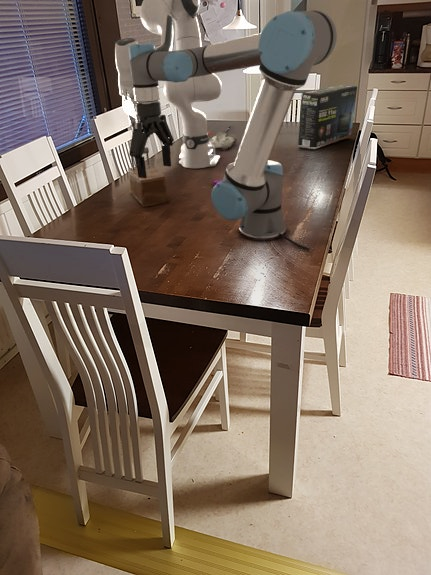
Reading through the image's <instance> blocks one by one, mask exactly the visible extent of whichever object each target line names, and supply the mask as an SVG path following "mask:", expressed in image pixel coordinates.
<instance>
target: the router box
mask: <svg viewBox="0 0 431 575" xmlns="http://www.w3.org/2000/svg"><path fill="white" fill-rule="evenodd" d="M357 93H358V86H356V85H350V84H339V85H338V84H337V85H334V86H328V87H324V88H318V89H314V90H309V91H304V92H301V93H300V109H299V110H300V111H299V124H298V137H297V146H298V145H302V146H307V147H317V146H320V145H323V144H325V143H328V142H331V141H333V140H336V139H338V138H341V137H344V136H347V135H351V136H352V133H353V132H352V131H353V125H354V115H355V109H356V99H357ZM311 151H313V150H312V149H311Z"/></svg>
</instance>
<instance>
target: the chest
mask: <svg viewBox="0 0 431 575" xmlns="http://www.w3.org/2000/svg"><path fill="white" fill-rule="evenodd" d="M128 177H129V178H128V179H129V184H130V192H131V195H132V196H133V197H134V198H135V199H136V201H137V202H138V203H139V204H140V205H141V206H142V207H143V208H147V207H150V206H151V207H153V206H156V205H161V204H167V203H168V193H167V184H166V178H165V179H161V180H155V181H149V182H144V183H140V182H139V181H138V180H137V179H136V178H135V177H134V176H133V175H132V174H131V173H130V172H129V171H128Z"/></svg>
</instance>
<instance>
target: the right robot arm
mask: <svg viewBox="0 0 431 575" xmlns="http://www.w3.org/2000/svg"><path fill="white" fill-rule="evenodd" d="M337 39H338V31H337V27H336V23H335V22H334V21H333V19H332V18H331V17H330V16H329V15H328V14H327V13H326V12H323V11H320V10H315V9H314V10H301V11H298V10H288V11H284V12H282V13H279V14H277V15H275V16H273V17H272V18H271V19H270V20H269V21H267V23H266V24H265V26H264V27H263V29H262V30H261V32H260V33H256V34H252V35H248V36H242V37H239V38H235V39H230V40H226V41H221V42H216V43H211V44H209V45H203V46H202V47H198V48H193V49H185V50H177V51H176V50H173V51H168V52H156V50H155V47H156V46H155V44H154V43H152V42H145V43H138V44H132V45H131V46H130V47H129V57H130V60H129V62H130V66H131V73H132V81H133V87H134V96H135V101H136V102H137V103H136V104H135V106H136V114H137V116H138V117H139V118H140V122H139V123H138V122H136V121H135V122H133V127H132V135H131V141H130V147H129V150H130V153H129V154H128V155H129V157H131V156H132V157H133V158H134V163H135V167H137V171H138V177H139V178H147V176H146V168H145V166H146V161H145V156H143V155H144V154H143V152H144V149H145V148H146V145H147V142H148V139H149V138H150V137H151V135H154V134H155V136H156V137H157V139H159V141H160V143H161V144H162V145H161V155H162V156H161V157H162V166H163V167H172V158H171V146H173V145H174V141H175V140H174V137H173V134H172V131H171V129H170V127H169V124H168V121H167V117H166V114H162V104H161V102H160V100H161V94H160V86H159V84H160V83H159V82H165V81H170V82H176V83H177V82H184V81H187V80H188V78H191V77H197V76H204V75H209V74H218V73H224V72H230V71H235V70H240V69H241V70H243V69H246V68H253V67H258V69H259V71H260V74H261V77H262V78H261V81H260V84H259V87H258V90H257V93H256V96H255V99H254V102H253V105H252V107H251V108H252V109H251V111H250V114H249V117H248V120H247V123H246V126H245V128H244V132H243V134H242V138H241V141H240V144H239V146H238V149H237V153H236V155H235V159H234V161H233V162H231V163H229V164H228V165H226V168H225V172H224V175H223V177H222V182H219V183H217V184H216V185H215V186H214V185H213V188H212V189H211V196H210V198H211V203H212V205H213V206H214V209H215V211H216V212H217V213H218V214H219V216H221V217H222V218H224V219H226V220H227V221H233V222H234V221H239V220H240V222H239V225H238V232H239V235H240V236H241V237H242V238H244V239H247V240H250V241H254V242H271V241H277V240H279V239H281V238H283V239H284V240H286V241H287V242H289V243H291V244H292V245H293V246H296V247H298V248H301V249H303V250H306V251H309V250H310V247H307V246H305V245H302V244H300V243H297V242H296V241H294V240H292V239H291V238H290V237H288V236H286V234H287V223H286V221H285V216H284V214H283V210H282V200H283V183H284V168H283V165H282V164H281V163H280V162H278V161H275V160H270V157H271V155H272V152H273V150H274V147H275V144H276V142H277V139H278V137H279V134H280V132H281V129H282V127H283V125H284V122H285V119H286V116H287V114H288V111H289V109H290V107H291V105H292V104H291V103H292V102H293V99H294V96H295V93H296V91H297V90H298V89H301V88H302V87H304V86H305V85H306V83H307V81H308V79H309V78H308V77H309V76H310V73H311V70H312V68H313V66H317V65H320V64H321V63H323V62H325V61H326V60H328V58H329V57H330V56H331V55H332V53H333V52H334V49H335V47H336V45H337Z"/></svg>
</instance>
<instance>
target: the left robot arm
mask: <svg viewBox="0 0 431 575" xmlns="http://www.w3.org/2000/svg"><path fill="white" fill-rule="evenodd" d="M200 5H201V0H142V3H141V6H140V9H139V18H140V22H141V24H142V26H143V27H144V28H145V30H147V31H148V32H149V33H152V34H155V35H158V36H161V37H160V45H158V46H155V50H156V52H168V51H174V46H175V51H177V50H185V49H193V48H198V47H203V46H202V38H201V37H202V36H201V31H200V26H199V21H198V18H197V16H198V13H199V10H200ZM132 44H139V42H138V41H137V39H136V38H133V37H125V38H121V39H120V38H119V39H118V40H117V41H116V42H115V44H114V46H115V47H114V57H115V58H114V59H115V66H116V70H117V73H118V79H117V82H118V89H119V95H120V96H121V99H122V100H121V101H122V108H123V112H124V113H125V114H126V115H127V118H128V121H129V125H130V127H132V128H133V122H138V123H139V122H140V118H139V117H138V116H137V114H136V106H135V104H136V103H137V102H136V101H135V96H134V87H133V81H132V73H131V66H130V62H129V60H130V57H129V47H130V46H131V45H132ZM162 89H163V95H164V97H165V99H166V100H167V102H169V103H171V104H172V105H173V106H174V107H175V108H176V110H177V111H178V113H179V115H180V118H181V125H182V137H181V138H182V144H181V146H180V154H179V159H180V160H179V161H178V164H179V165H181V166H182V167H184V168H188V169H203V168H210V167H215V166H216V165H217V164H218V163H219V161H220V160H221V155H218V154H216V148H215V147H214V146H213V145H212V144H211V143H210V142H209V139H210V137H211V131H208V121H207V120H208V119H207V115H206V114H205V113H204V112H202V111H201V110H199V109H196V108H194V107H193V103H199V102H203V103H204V102H210V101H213V100H217V99H218V98H219V97H220V95H221V94H222V91H223V86H222V81H221V80H220V77H218V75H216V74H215V73H213V74H209V75H204V76H197V77H191V78H188V80H187V81H184V82H177V83H176V82H170V81H164V83H163V87H162ZM225 130H226V131H225ZM225 130H224V131H225V133H227V132H228V131H229V130H230V128H228V127H227V129H225Z"/></svg>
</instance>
